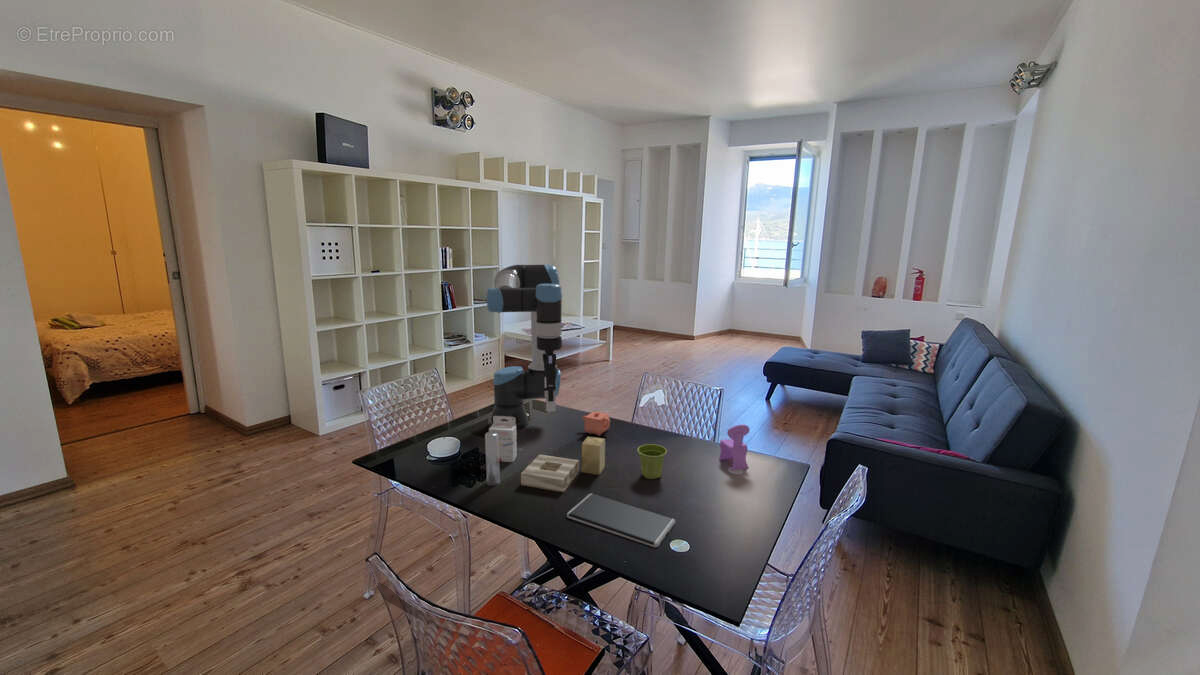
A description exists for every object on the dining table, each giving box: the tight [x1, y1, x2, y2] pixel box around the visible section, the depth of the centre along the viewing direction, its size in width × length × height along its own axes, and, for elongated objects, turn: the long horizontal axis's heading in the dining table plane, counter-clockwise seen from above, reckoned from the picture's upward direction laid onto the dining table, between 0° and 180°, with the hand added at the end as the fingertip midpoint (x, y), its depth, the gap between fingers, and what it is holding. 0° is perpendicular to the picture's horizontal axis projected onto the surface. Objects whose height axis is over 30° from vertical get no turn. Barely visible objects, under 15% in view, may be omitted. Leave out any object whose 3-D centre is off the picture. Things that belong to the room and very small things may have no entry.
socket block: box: [520, 454, 580, 493], centre depth 155 cm, size 14×14×4 cm
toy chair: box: [718, 424, 750, 471], centre depth 166 cm, size 8×9×15 cm
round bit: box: [484, 431, 501, 486], centre depth 151 cm, size 4×4×16 cm
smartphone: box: [566, 493, 676, 548], centre depth 133 cm, size 13×27×2 cm, turn 60°
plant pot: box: [637, 443, 668, 480], centre depth 158 cm, size 9×9×9 cm
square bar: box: [581, 436, 606, 476], centre depth 161 cm, size 6×6×10 cm
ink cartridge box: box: [488, 416, 518, 463], centre depth 168 cm, size 9×5×15 cm, turn 84°
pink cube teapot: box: [581, 410, 611, 437], centre depth 193 cm, size 8×12×8 cm, turn 63°
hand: (549, 403), depth 151 cm, fingers open, 13 cm apart
